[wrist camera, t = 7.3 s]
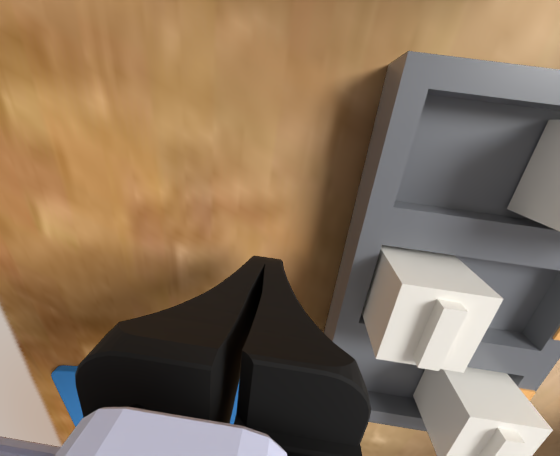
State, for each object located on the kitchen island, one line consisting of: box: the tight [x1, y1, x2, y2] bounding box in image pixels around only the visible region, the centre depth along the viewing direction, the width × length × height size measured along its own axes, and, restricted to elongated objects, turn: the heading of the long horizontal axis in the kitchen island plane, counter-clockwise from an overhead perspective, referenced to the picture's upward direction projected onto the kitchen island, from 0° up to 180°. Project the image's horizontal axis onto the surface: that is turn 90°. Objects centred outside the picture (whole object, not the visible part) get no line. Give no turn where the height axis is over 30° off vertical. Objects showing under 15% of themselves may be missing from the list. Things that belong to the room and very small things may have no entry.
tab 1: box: [362, 245, 503, 373], centre depth 11 cm, size 4×4×4 cm
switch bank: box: [324, 51, 560, 431], centre depth 13 cm, size 11×18×2 cm, turn 173°
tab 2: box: [413, 367, 553, 456], centre depth 13 cm, size 4×4×4 cm
